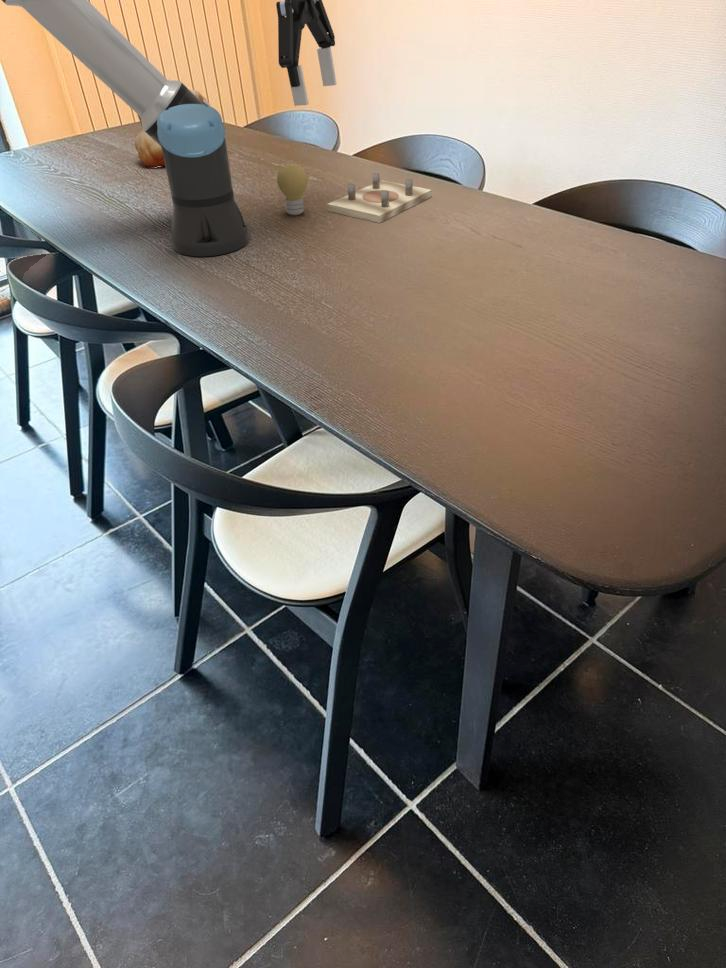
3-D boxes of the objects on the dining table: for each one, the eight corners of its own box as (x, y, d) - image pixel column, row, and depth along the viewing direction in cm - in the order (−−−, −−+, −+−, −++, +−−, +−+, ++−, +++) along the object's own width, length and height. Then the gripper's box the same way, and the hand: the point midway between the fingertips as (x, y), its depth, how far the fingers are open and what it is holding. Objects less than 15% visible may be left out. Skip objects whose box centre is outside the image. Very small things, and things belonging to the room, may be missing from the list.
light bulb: (312, 208, 148) (308, 160, 141) (307, 218, 143) (303, 168, 136) (283, 208, 148) (278, 160, 142) (278, 218, 143) (272, 168, 137)
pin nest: (379, 223, 139) (379, 200, 137) (327, 211, 146) (326, 189, 143) (431, 196, 151) (432, 175, 148) (381, 186, 158) (381, 166, 155)
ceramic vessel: (231, 148, 189) (222, 87, 180) (165, 172, 173) (151, 107, 163) (195, 142, 195) (184, 83, 185) (127, 166, 179) (112, 102, 169)
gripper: (278, -30, 110) (306, 112, 124) (338, -52, 126) (356, 76, 140) (240, -24, 113) (271, 115, 127) (303, -46, 129) (324, 79, 143)
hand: (316, 95), depth 133 cm, fingers open, 13 cm apart
